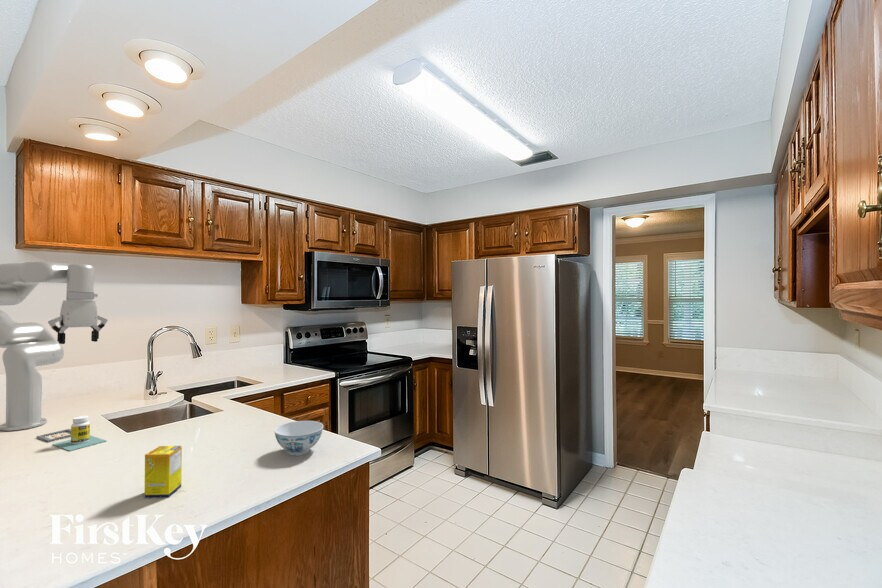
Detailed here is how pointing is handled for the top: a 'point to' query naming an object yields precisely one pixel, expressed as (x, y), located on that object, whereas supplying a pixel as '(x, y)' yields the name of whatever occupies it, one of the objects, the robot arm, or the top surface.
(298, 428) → the chinaware
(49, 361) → the robot arm
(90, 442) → the teal mat
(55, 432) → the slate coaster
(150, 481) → the supplement box
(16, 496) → the top surface
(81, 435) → the supplement bottle
